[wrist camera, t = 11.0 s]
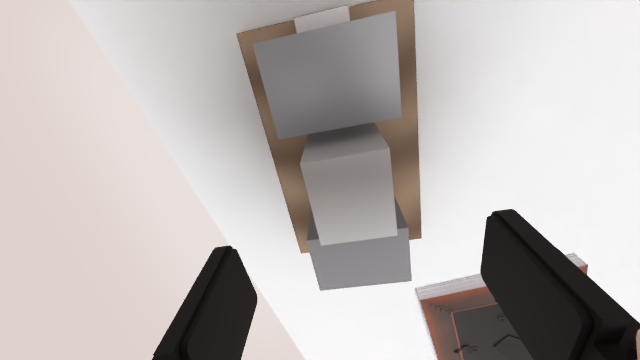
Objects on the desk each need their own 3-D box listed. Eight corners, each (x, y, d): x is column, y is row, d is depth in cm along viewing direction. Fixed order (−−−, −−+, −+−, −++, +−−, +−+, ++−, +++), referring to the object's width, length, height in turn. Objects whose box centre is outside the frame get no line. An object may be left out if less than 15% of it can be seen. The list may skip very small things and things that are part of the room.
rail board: (242, 34, 19) (231, 33, 17) (407, -4, 18) (418, -12, 16) (302, 243, 28) (299, 260, 26) (416, 228, 27) (424, 245, 24)
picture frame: (564, 362, 36) (569, 249, 28) (579, 383, 34) (590, 266, 25) (443, 380, 40) (414, 283, 31) (450, 400, 37) (420, 301, 29)
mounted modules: (272, 45, 17) (252, 43, 13) (378, 21, 17) (395, 10, 12) (322, 247, 25) (320, 290, 20) (396, 238, 24) (411, 280, 20)
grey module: (306, 128, 20) (294, 164, 14) (370, 116, 19) (389, 148, 13) (320, 191, 22) (316, 246, 16) (378, 181, 22) (397, 235, 15)
